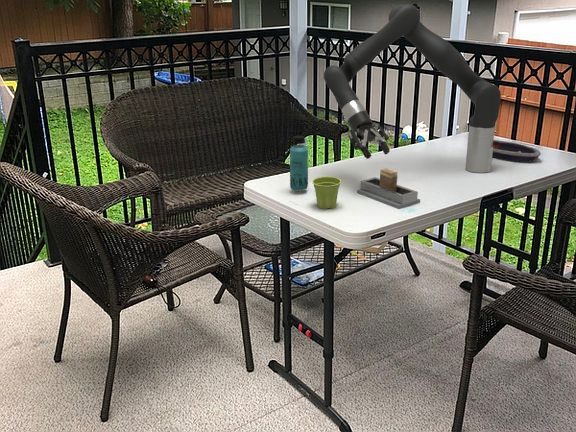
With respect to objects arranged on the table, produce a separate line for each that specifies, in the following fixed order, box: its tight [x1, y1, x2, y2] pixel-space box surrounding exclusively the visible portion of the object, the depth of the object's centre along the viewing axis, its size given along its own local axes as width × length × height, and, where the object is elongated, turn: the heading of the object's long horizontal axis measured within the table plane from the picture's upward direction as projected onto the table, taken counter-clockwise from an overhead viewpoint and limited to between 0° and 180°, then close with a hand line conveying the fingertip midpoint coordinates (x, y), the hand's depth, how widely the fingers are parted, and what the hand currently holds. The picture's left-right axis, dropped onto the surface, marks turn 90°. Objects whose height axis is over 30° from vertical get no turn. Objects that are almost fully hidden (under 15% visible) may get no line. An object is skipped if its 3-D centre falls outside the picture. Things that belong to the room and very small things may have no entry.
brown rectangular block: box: [379, 168, 398, 192], centre depth 201 cm, size 3×5×8 cm, turn 36°
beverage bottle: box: [289, 135, 309, 191], centre depth 207 cm, size 6×7×20 cm
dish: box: [492, 139, 542, 163], centre depth 247 cm, size 16×31×5 cm, turn 39°
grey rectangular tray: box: [356, 176, 421, 210], centre depth 202 cm, size 10×20×4 cm, turn 36°
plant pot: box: [311, 176, 342, 210], centre depth 195 cm, size 9×9×9 cm
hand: (378, 155), depth 202 cm, fingers open, 8 cm apart
